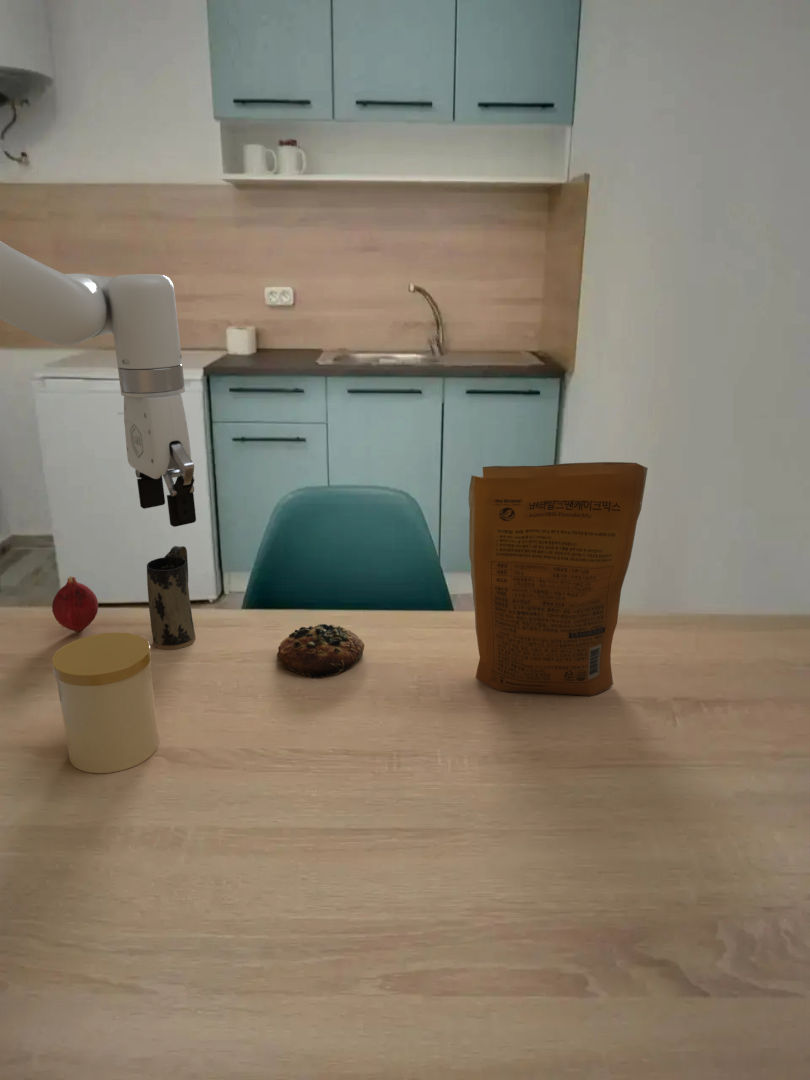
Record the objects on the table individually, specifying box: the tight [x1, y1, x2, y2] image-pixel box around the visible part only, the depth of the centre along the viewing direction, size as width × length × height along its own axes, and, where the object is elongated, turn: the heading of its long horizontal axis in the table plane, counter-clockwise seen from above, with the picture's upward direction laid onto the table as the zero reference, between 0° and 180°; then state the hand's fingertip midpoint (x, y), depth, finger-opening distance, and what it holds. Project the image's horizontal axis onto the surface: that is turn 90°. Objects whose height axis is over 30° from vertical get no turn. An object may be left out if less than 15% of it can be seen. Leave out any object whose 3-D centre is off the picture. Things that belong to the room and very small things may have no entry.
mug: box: [146, 545, 197, 651], centre depth 110 cm, size 8×6×12 cm
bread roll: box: [276, 623, 365, 679], centre depth 106 cm, size 11×11×5 cm
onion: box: [51, 575, 99, 633], centre depth 112 cm, size 6×6×8 cm
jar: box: [51, 632, 160, 774], centre depth 85 cm, size 9×9×11 cm
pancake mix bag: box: [468, 461, 649, 697], centre depth 94 cm, size 7×19×28 cm, turn 84°
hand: (167, 514), depth 106 cm, fingers open, 9 cm apart
